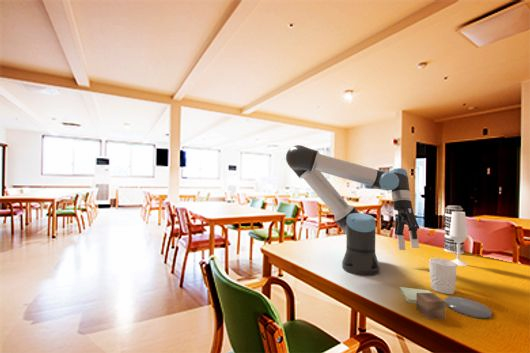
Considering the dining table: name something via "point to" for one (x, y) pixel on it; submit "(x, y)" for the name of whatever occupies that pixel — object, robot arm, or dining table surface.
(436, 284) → the white cup
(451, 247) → the decorative candle
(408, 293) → the green mat
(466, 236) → the champagne flute
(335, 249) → the dining table surface
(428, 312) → the walnut block
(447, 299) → the slate coaster
